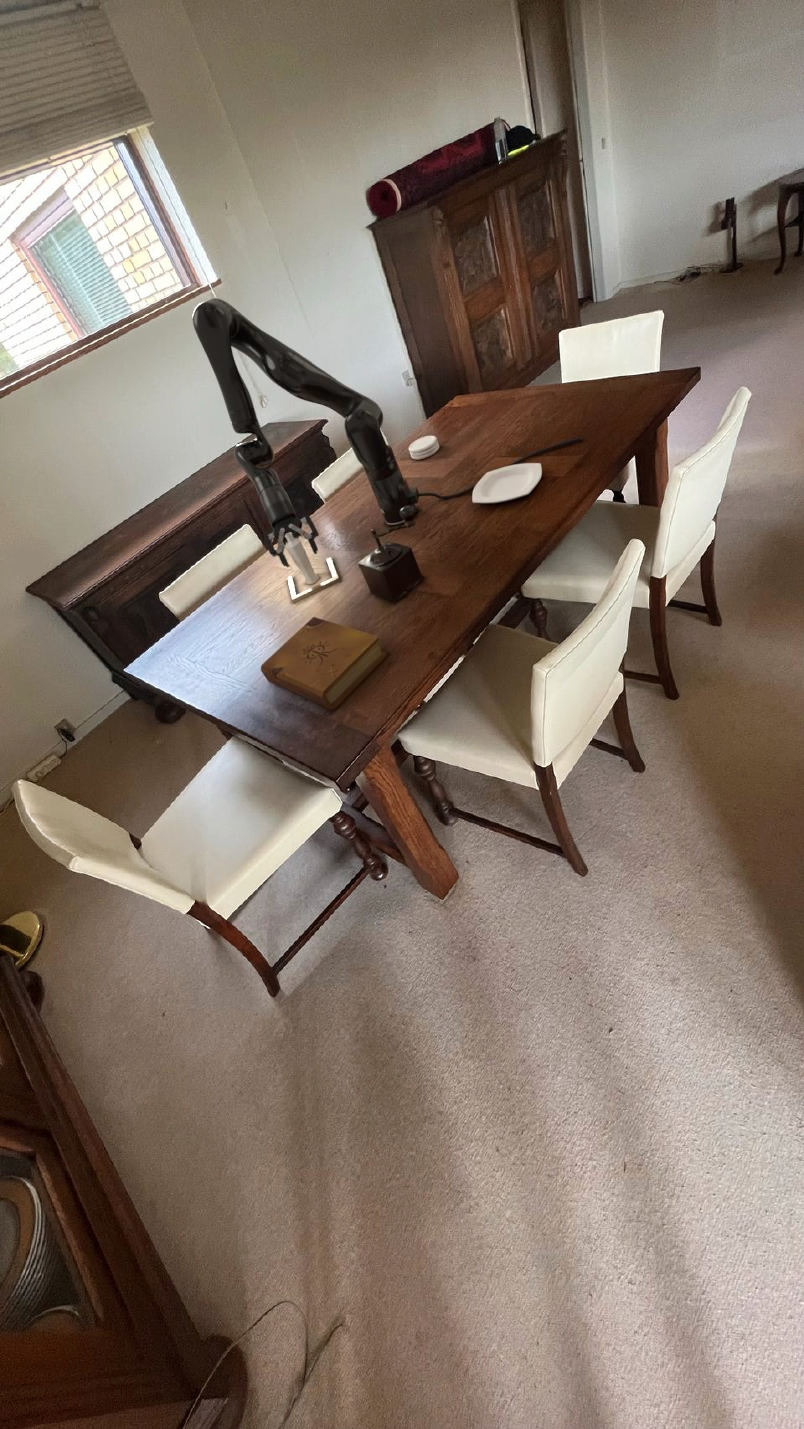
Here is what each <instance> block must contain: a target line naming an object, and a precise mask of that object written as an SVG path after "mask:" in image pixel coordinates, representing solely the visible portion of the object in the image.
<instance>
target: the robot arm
mask: <svg viewBox="0 0 804 1429" xmlns="http://www.w3.org/2000/svg"><path fill="white" fill-rule="evenodd" d="M192 326H193V329H194V331H195V334H196V336H197V338H198V340H199V342H200V344H201V347H202V349H203V352H204V353H205V355H206V357H207V359H208V362H209V364H210V366H211V369H212V372H213V374H214V376H215V379H216V381H217V384H218V386H219V389H220V392H221V395H222V398H223V401H224V404H225V408H226V411H227V414H228V417H229V420H230V423H231V427H232V429H233V431H234V433H236V434H241V435H245V434H251V435H253V436H254V439H251V440H247V441H244V442H241V443H238V444H236V445H235V447H234V450H233V456H234V459H235V462H236V464H237V465H238V466H239V468H240V469H241V470H242V472H243V473H244V474H245V475H246V476H247V477H248V479H249V480H250V481H251V483H252V484H253V486H254V488H255V490H256V492H257V495H258V497H259V500H260V502H261V506H262V508H263V511H264V512H265V515H266V516H267V519H268V521H269V523H270V524H269V525H270V526H271V528H272V532H271V533H268V534H267V533H264V534H263V540H264V542H265V545H266V547H267V549H268V553H269V554H270V555H271V557H273V558H275V557H278V558H279V560H280V562H281V564H282V565H283V566H284V567H286V568H289V567H290V564H289V561H288V559H287V557H286V555H285V553H284V552H285V549H286V548H285V547H286V545H287V543H288V541H287V539H286V537H285V535H286V534H287V533H289V532H291V533H292V535H293V537H294V538H298V539H299V538H300V537H301V538H303V539H305V540H307V542H308V543H309V545H310V548H311V550H312V552H313V554H314V555H317V554H318V551H319V548H318V546H317V543H316V541H315V539H316V538H317V537H319V535H320V534H319V531H318V530H317V527H316V526H315V524H314V522H313V520H312V518H311V516H310V515H309V514H305V515H304V517H301V518H299V517H298V515H297V513H296V510H295V508H294V506H293V504H292V502H291V501H292V500H291V498H290V496H289V495H288V493H287V492H286V490H285V488H284V486H283V483H282V482H281V480H280V477H279V475H278V473H277V472H276V471H275V469H273V468H269V467H268V468H266V467H265V466H267V465H270V464H272V463H273V461H274V459H275V452H274V448H273V446H272V444H271V443H270V441H269V440H268V438H267V436H266V435H265V433H264V430H263V429H262V427H261V424H260V422H259V420H258V416H257V413H256V408H255V406H254V402H253V399H252V396H251V393H250V391H249V389H248V387H247V384H246V383H245V381H244V379H243V377H242V375H241V372H240V370H239V369H238V366H237V363H236V360H235V356H234V354H233V353H234V352H233V349H235V350H237V351H239V352H240V353H242V354H244V355H245V356H246V357H247V358H249V359H250V360H251V361H252V362H254V364H255V365H256V366H257V367H258V368H259V369H260V370H261V371H262V372H263V374H264V375H266V377H267V378H268V379H270V380H271V382H273V384H275V385H277V386H278V387H279V388H281V389H282V390H284V391H285V392H287V393H289V394H290V395H292V396H293V397H296V398H297V399H300V400H303V401H306V402H308V403H313V404H317V405H321V406H323V407H326V408H329V409H330V410H332V411H334V412H335V413H336V414H338V415H340V416H341V417H342V418H343V419H344V424H343V425H344V426H343V428H344V431H345V432H344V433H345V434H346V437H347V440H348V442H349V445H350V446H351V449H352V451H353V452H354V455H355V457H356V459H357V461H358V462H359V463H360V464H361V465H362V468H363V471H364V473H365V476H366V478H367V480H368V482H369V484H370V487H371V489H372V493H373V495H374V497H375V500H376V501H377V504H378V506H379V507H378V509H379V511H380V513H381V514H382V516H383V519H384V522H385V524H386V525H387V526H389V527H395V526H400V525H404V519H403V518H402V517H401V516H400V510H401V509H402V508H403V507H405V506H412V507H414V508H415V510H416V511H417V506H416V504H418V503H419V499H420V497H435V498H437V499H439V500H447V499H453V498H456V497H460V496H462V495H464V494H467V493H469V492H471V491H473V490H474V487H475V486H476V484H475V485H473V486H471V487H469V488H467V489H464V490H462V491H460V492H457V493H454V494H450V495H440V494H438V493H435V492H420V491H419V489H418V487H417V486H416V487H411V488H410V486H409V484H408V481H407V479H405V478H404V477H403V474H402V472H401V468H400V466H399V463H398V460H397V458H396V455H395V453H394V450H393V447H392V446H390V445H388V444H387V443H386V440H385V437H384V434H383V433H382V430H381V428H382V426H383V423H384V413H383V410H382V408H381V407H380V406H379V404H378V403H377V402H376V401H374V400H373V399H371V398H370V397H368V396H366V395H364V394H362V393H360V392H358V391H357V390H354V388H351V387H349V386H347V385H346V384H344V383H343V382H341V381H339V380H338V379H336V377H333V376H332V375H330V374H329V373H328V372H326V371H325V370H323V369H322V368H320V366H317V364H315V363H313V362H312V361H311V360H310V359H308V358H306V356H303V355H302V354H300V353H299V352H298V351H296V350H294V349H293V348H291V347H289V346H288V345H286V344H285V343H283V342H282V341H280V340H279V339H277V338H275V337H274V336H273V335H271V334H269V333H268V332H265V331H264V330H263V329H261V328H260V327H258V326H257V325H255V324H254V323H253V322H252V321H250V320H249V318H247V317H246V316H244V315H243V314H242V313H241V312H240V311H239V310H238V309H236V308H235V307H234V306H233V305H231V304H230V303H228V302H227V301H226V300H224V299H222V298H209V299H207V300H205V301H202V302H201V303H199V304H197V306H196V307H195V308H194V311H193V314H192ZM579 441H581V437H577V438H573V439H570V440H566V441H562V442H558V443H556V444H554V445H550V446H548V447H545V448H542V449H540V450H539V449H538V450H536V451H535V452H532V453H529V454H527V455H526V456H525V455H524V456H523V457H521V458H519V459H517V460H516V461H513V462H511V463H510V464H508V465H507V466H510V465H515V464H521V462H523V461H525V460H527V459H530V458H532V457H535V456H537V455H539V454H542V453H545V452H547V451H551V450H553V449H557V448H559V447H562V446H566V445H569V444H572V443H576V442H579ZM262 467H265V468H262ZM303 524H305V526H309V529H310V530H311V532H310V533H308V532H307V531H306V530H304V529H302V528H303ZM274 538H276V539H278V540H277V547H276V549H275V547H274V544H273V542H274Z"/></svg>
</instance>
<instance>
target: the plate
mask: <svg viewBox="0 0 804 1429" xmlns="http://www.w3.org/2000/svg"><path fill="white" fill-rule="evenodd" d="M509 465H510V464H509ZM542 469H543V468H542V463H540V462H525V463H518V464H515V465H510V466H508V465H506V466H504V467H500V468H497V469H494V470H490V471H487V472H486V473H485V474H484V475H483V476H482V477H481V478H480V480H479V481H478V482H477V483H476V484H475V485H476V486H475V485H474V486H475V487H474V489H473V490H472V494H471V495H472V496H471V498H472V499H471V500H472V504H497V503H504V502H509V501H512V500H516V499H520V498H522V497H525V496H529V494H530V493H531V492H532V491H533V490H534V489H535V487H536V486H537V485H538V484H539V483H540V480H541V478H542V475H543V470H542Z"/></svg>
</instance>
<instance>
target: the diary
mask: <svg viewBox="0 0 804 1429" xmlns="http://www.w3.org/2000/svg"><path fill="white" fill-rule="evenodd" d="M379 641H380V637H379V636H378V635H375V634H372V633H369V632H365V631H362V630H358V629H355V628H352V627H348V626H346V625H342V624H340V623H339V624H338V623H335V622H332V621H328V620H326V619H322V618H319V617H316V616H313V617H312V618H311V619H310V620H308V622H306V623H305V624H304V625H303V626H301V627H300V628H299V630H298V631H297V632H295V633H294V634H293V635H292V636H291V637H290V638H289V639H288V640H287V641H285V642H284V644H283V645H282V646H280V647H279V648H278V649H277V650H276V651H275V652H274V653H273V654H272V655H270V656H269V657H268V658H267V659H266V660H265V661H264V662H263V663H262V664H261V665H260V671H261V673H262V675H263V676H264V678H265V679H266V680H267V682H268V683H270V684H273V685H275V686H277V687H279V688H282V689H284V690H286V691H288V692H291V693H292V694H295V695H297V696H299V697H302V698H304V699H306V700H308V701H311V702H312V703H314V704H317V705H319V706H321V707H323V708H326V709H328V710H333V711H334V710H336V708H337V707H339V705H340V704H342V702H343V701H345V699H347V697H348V696H350V694H351V693H352V692H353V691H354V690H355V689H356V688H357V687H358V686H359V685H360V684H361V683H362V682H363V681H364V680H365V679H366V677H367V676H369V675H370V674H371V673H372V672H373V670H374V669H375V668H376V667H377V666H378V665H379V664H380V663H381V662H382V661H383V660H384V659H385V658H386V657H387V656H388V654H387V652H386V651H383V650H381V648H380V647H379V644H378V642H379Z"/></svg>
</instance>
